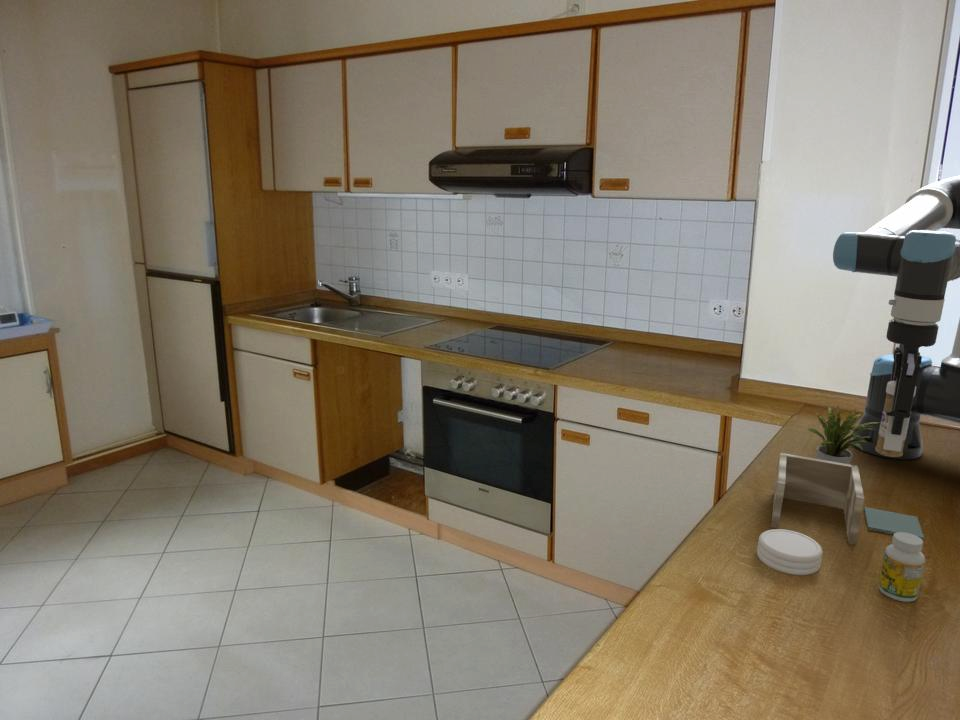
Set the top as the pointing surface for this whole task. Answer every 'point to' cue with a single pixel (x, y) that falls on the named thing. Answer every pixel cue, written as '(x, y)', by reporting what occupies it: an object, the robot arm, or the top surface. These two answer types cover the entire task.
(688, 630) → the top surface
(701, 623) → the top surface
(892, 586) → the supplement bottle
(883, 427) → the sprinkles bottle
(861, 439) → the house plant
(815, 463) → the birch box
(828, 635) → the top surface
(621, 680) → the top surface
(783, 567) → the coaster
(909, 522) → the felt mat
